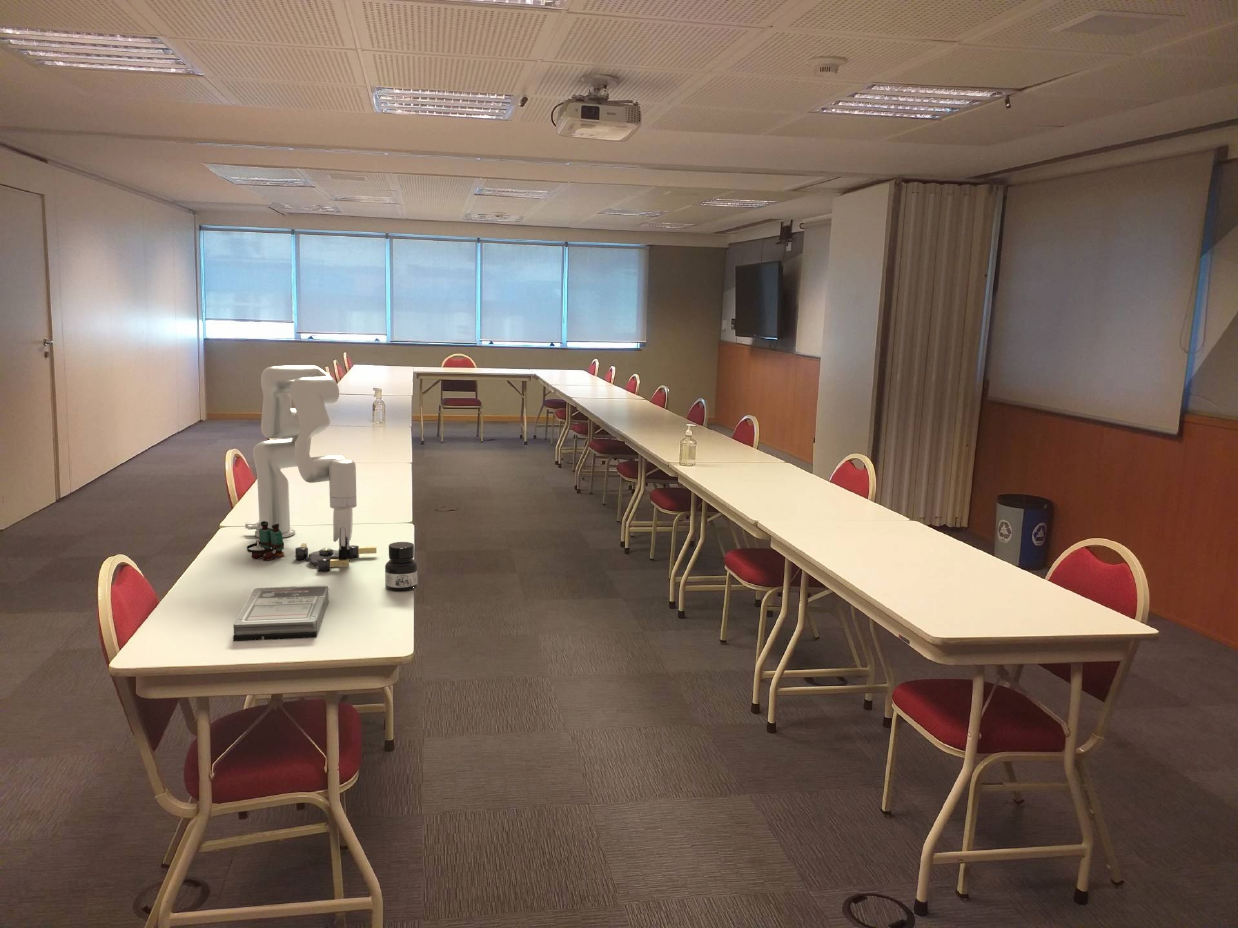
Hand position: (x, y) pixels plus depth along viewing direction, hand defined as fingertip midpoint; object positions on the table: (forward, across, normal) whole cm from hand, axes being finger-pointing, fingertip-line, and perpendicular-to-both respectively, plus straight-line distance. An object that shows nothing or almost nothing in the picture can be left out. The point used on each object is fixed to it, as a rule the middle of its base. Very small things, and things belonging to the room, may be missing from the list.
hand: (344, 561), depth 266 cm
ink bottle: (+1, +23, +16) cm, 28 cm away
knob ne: (+1, -9, +4) cm, 10 cm away
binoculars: (+1, -11, -24) cm, 26 cm away
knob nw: (+1, -11, -13) cm, 17 cm away
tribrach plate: (+1, -4, -6) cm, 7 cm away
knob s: (+1, +4, -3) cm, 5 cm away
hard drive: (+2, +44, -12) cm, 46 cm away
